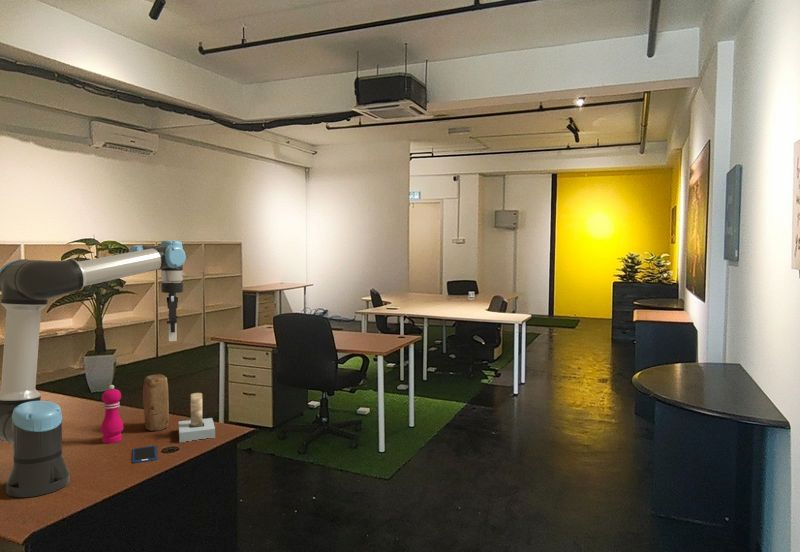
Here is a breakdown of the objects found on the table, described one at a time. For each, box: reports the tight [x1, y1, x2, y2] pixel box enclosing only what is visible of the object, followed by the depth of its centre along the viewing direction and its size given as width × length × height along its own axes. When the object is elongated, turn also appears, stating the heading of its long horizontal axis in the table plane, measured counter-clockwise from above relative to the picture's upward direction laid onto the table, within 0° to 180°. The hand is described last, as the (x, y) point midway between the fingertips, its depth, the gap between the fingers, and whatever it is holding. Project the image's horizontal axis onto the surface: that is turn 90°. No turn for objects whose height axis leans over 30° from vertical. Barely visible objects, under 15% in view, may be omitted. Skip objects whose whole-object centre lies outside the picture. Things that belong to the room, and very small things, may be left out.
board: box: [178, 417, 216, 443], centre depth 203 cm, size 12×14×4 cm
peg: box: [190, 392, 203, 428], centre depth 203 cm, size 4×4×15 cm
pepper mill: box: [100, 384, 124, 444], centre depth 195 cm, size 7×7×20 cm
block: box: [142, 373, 170, 432], centre depth 210 cm, size 11×8×20 cm
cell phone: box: [131, 445, 158, 464], centre depth 183 cm, size 7×14×1 cm, turn 25°
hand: (172, 338), depth 207 cm, fingers open, 13 cm apart
